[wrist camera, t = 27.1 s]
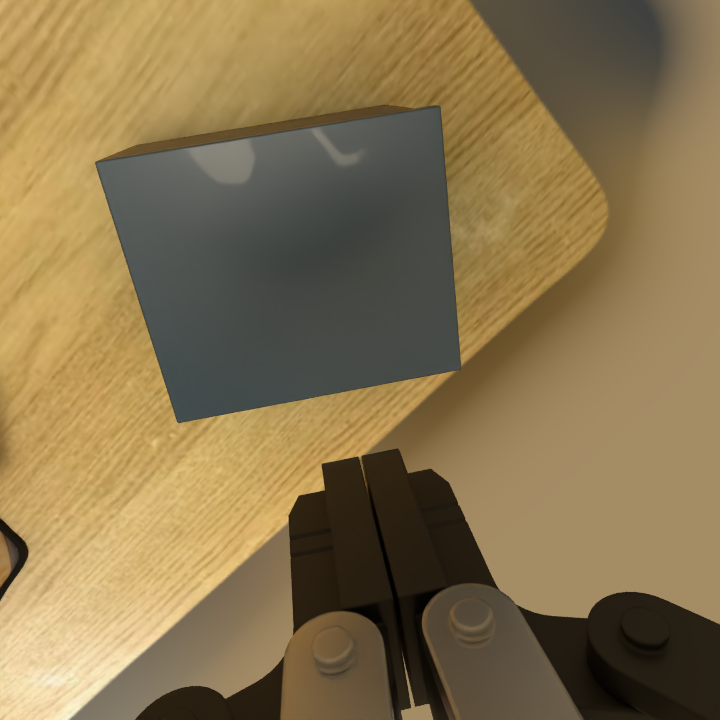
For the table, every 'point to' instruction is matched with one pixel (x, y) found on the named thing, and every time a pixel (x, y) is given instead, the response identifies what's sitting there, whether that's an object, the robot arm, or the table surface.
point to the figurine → (10, 556)
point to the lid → (291, 260)
